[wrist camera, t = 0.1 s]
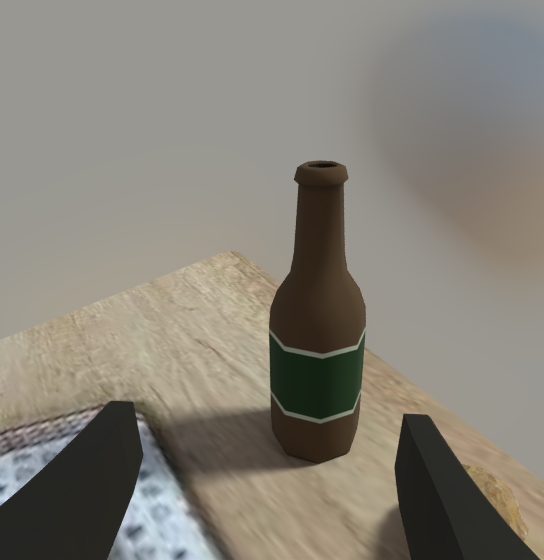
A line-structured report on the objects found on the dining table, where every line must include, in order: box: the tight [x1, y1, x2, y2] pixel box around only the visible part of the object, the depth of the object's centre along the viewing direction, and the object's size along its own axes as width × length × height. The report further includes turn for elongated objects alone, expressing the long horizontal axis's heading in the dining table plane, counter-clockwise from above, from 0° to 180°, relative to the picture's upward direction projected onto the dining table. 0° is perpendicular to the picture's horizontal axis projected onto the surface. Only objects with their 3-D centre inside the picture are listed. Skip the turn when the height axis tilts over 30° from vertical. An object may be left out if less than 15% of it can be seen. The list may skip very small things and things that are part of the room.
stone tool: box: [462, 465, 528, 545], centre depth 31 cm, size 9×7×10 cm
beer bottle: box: [269, 161, 366, 463], centre depth 38 cm, size 8×8×24 cm
